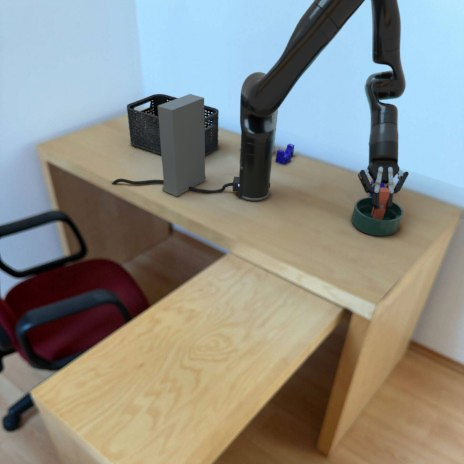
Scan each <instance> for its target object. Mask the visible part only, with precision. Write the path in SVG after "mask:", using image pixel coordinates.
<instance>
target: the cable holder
mask: <svg viewBox="0 0 464 464" xmlns="http://www.w3.org/2000/svg"><path fill="white" fill-rule="evenodd" d="M294 150H295V144H292V143H288V144H287V145H286V148H285V150H284V149H280V148H279V149H277V150H276V157H275V162H276V163H279V164H281V165H286V164H288V163H290V162H291V160H292V158H293V157H294Z"/></svg>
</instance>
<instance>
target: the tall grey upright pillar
mask: <svg viewBox="0 0 464 464" xmlns="http://www.w3.org/2000/svg"><path fill="white" fill-rule="evenodd" d="M177 98H178V99H175V100H172V101H169V102H167V103H164V104H161V105H159V106H158V118H159V130H160V142H161V155H160V156H161V165H162V180H164V183H163V186H162V191H163V192H165V193H167V194H170V195H173V196H175V197H179V196H181V195H182V194H184V193H186V192H188V191H190V190H189V187H193V188H195V187H196V186H198V185H200V184H202V183H204V182H205V181H206V180H207V177H206V156H205V126H206V125H204V105H205V97H203V96H199V95H195V94H191V93H189V94H185V95H183V96H180V97H177Z"/></svg>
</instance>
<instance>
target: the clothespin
mask: <svg viewBox="0 0 464 464" xmlns="http://www.w3.org/2000/svg"><path fill="white" fill-rule="evenodd" d="M378 193H379V208H378V209H374V207H373V209H372V213H371V215H372V216H373V219H378V220H383V216H384V213H385V210H386V209H385V207H386V204H387V200H388V197H389V194H390V191H389V189H388V188H381V187H380V188H379V192H378Z"/></svg>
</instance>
